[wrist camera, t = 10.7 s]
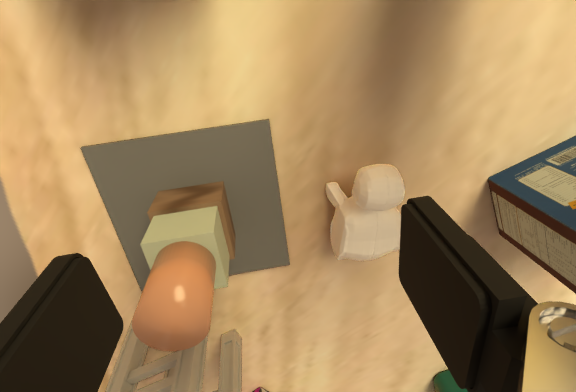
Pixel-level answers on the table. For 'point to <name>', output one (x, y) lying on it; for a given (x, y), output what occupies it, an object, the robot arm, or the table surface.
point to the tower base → (197, 206)
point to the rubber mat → (189, 172)
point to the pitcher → (446, 383)
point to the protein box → (541, 209)
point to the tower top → (190, 237)
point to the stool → (176, 367)
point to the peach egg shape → (177, 298)
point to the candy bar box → (260, 390)
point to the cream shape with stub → (367, 214)
